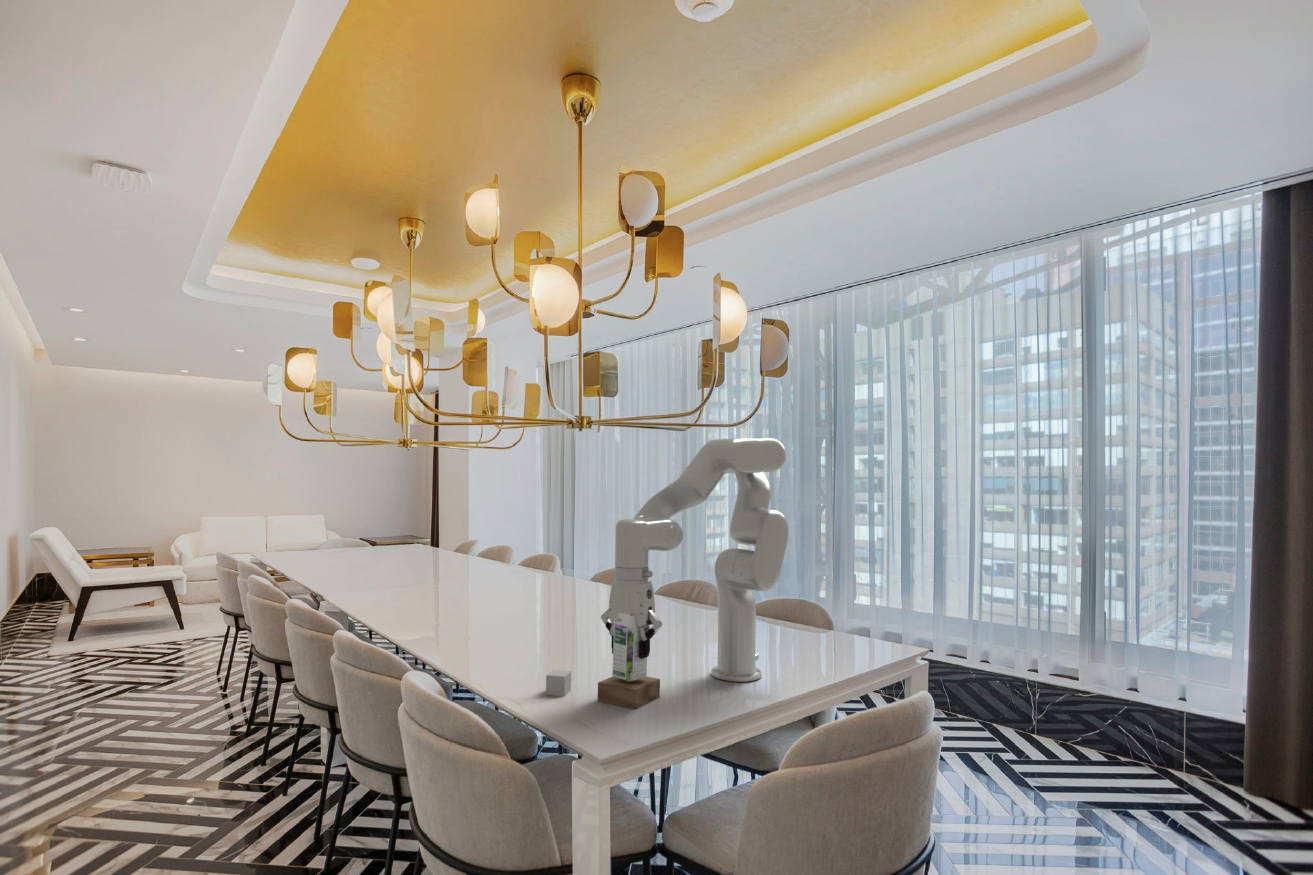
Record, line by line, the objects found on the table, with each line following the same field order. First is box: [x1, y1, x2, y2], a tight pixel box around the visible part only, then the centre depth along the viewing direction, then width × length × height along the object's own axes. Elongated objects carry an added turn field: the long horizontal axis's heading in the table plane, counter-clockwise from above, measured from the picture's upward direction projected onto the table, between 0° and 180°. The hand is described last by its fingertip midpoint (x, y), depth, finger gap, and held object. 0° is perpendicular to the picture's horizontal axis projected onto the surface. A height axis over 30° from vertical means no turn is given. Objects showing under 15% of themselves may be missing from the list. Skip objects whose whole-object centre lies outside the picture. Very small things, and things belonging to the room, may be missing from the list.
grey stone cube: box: [545, 669, 572, 697], centre depth 158 cm, size 4×4×4 cm
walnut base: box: [597, 676, 661, 710], centre depth 154 cm, size 10×10×4 cm
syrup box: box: [611, 613, 648, 682], centre depth 155 cm, size 6×6×14 cm
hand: (630, 654), depth 155 cm, fingers open, 6 cm apart
